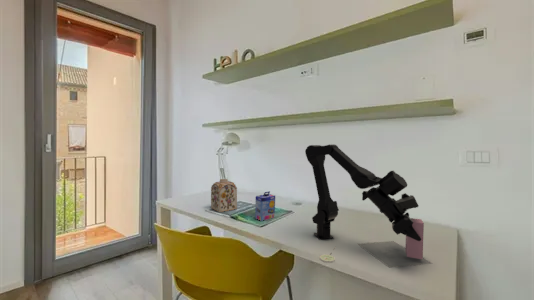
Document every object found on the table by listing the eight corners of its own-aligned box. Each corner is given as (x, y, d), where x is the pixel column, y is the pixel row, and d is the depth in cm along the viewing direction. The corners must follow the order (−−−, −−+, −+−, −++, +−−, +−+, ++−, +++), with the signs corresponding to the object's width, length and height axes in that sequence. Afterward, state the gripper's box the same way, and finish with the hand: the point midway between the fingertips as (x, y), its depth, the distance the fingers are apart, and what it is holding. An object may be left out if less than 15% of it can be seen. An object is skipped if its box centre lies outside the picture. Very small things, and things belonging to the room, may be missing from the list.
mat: (357, 244, 98) (357, 243, 98) (393, 241, 101) (393, 240, 101) (389, 268, 80) (389, 267, 80) (432, 264, 83) (432, 263, 83)
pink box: (407, 256, 84) (408, 221, 84) (405, 251, 88) (406, 217, 88) (422, 259, 82) (423, 223, 82) (420, 253, 87) (421, 219, 86)
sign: (342, 246, 96) (333, 262, 83) (342, 249, 96) (332, 265, 83) (329, 244, 98) (317, 258, 85) (329, 246, 98) (317, 261, 85)
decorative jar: (210, 208, 152) (210, 178, 151) (227, 205, 159) (227, 177, 158) (219, 212, 142) (219, 181, 142) (237, 209, 149) (237, 179, 149)
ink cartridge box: (261, 221, 126) (261, 193, 126) (254, 219, 131) (254, 191, 130) (275, 218, 133) (275, 190, 133) (268, 215, 137) (268, 189, 137)
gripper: (405, 192, 78) (447, 232, 74) (399, 183, 95) (432, 215, 91) (377, 214, 81) (416, 254, 77) (376, 201, 98) (407, 234, 94)
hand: (418, 237), depth 85 cm, fingers closed on pink box, 4 cm apart
